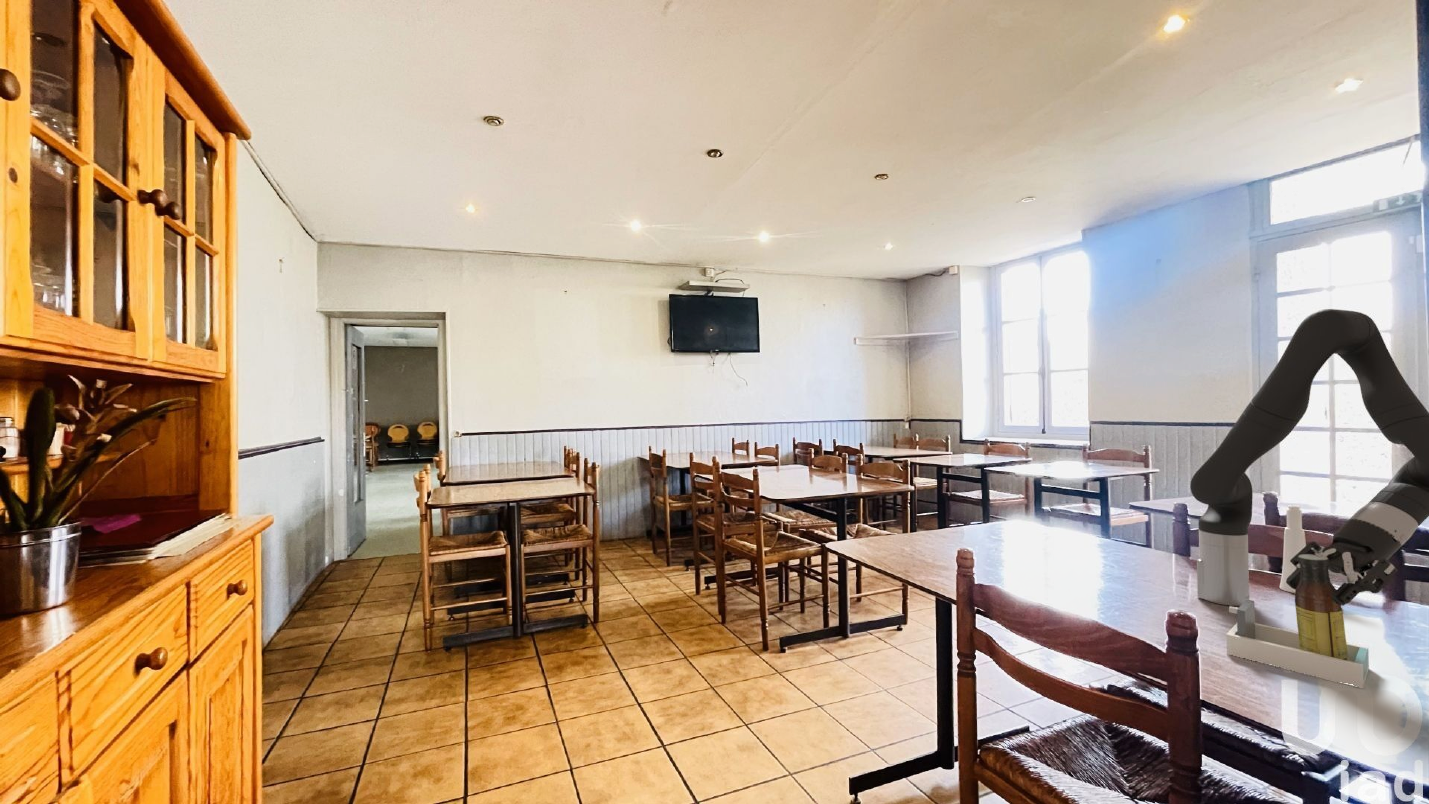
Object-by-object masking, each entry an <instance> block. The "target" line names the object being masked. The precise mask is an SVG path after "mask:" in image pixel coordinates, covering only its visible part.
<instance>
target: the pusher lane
mask: <svg viewBox="0 0 1429 804" xmlns="http://www.w3.org/2000/svg"><path fill="white" fill-rule="evenodd" d="M1225 638H1226V655H1228V656H1231V655H1233V657H1235V656H1237V657H1236V658H1239V657H1240V659H1243V658H1247V659H1250V660H1249V661H1251V660H1252V662H1255V661H1259V662H1262V663H1261V664H1263V663H1265V664H1264V665H1267V664H1272V665H1275V666H1276V668H1279V667H1281V668H1280V669H1282V668H1284V669H1283V670H1286V669H1287V670H1286V671H1290V670H1292V672H1294V671H1295V672H1294V673H1298V674H1302V673H1305V674H1304V675H1306V674H1308V675H1307V676H1310V675H1312V676H1311V677H1314V676H1316V677H1315V678H1318V677H1319V678H1318V679H1322V678H1323V679H1322V680H1326V681H1330V682H1334V683H1337V682H1342V683H1348V684H1353V685H1354V686H1357V687H1360V688H1359V689H1361V688H1362V690H1363V689H1364V685H1365V684H1366V680H1367V677H1366V676H1368V672H1369V670H1370V664H1369V663H1370V662H1369V661H1370V660H1369V659H1370V657H1369V655H1370V654H1369V652H1370V650H1369V647H1368V646H1365V645H1360V644H1354V643H1350V642H1346V644H1347V653H1348V657H1347V661H1346V660H1342V659H1338V658H1333V657H1329V656H1325V655H1320V654H1316V653H1312V652H1307V651H1303V650H1300V645H1299V635H1298V631H1294V630H1289V629H1284V628H1279V627H1276V626H1271V625H1266V624H1261V623H1257V622H1255V639H1251V638H1247V637H1243V636H1238V635H1237V622H1236V623H1235V624H1234V626H1232V628H1231V629H1230V630H1229V631H1228V632H1227V633H1226V637H1225ZM1247 659H1246V660H1247ZM1259 662H1258V663H1259ZM1275 666H1274V667H1275ZM1357 687H1356V688H1357Z"/></svg>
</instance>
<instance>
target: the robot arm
mask: <svg viewBox="0 0 1429 804" xmlns="http://www.w3.org/2000/svg"><path fill="white" fill-rule="evenodd" d="M1334 354H1335V355H1338V356H1339V357H1340V358H1341V359H1342V360H1343V361H1344V362H1346V364H1347V365H1348V366H1349V367H1350V368H1351V370H1352V371H1353V373H1354V374H1355V377H1356V379H1357V381H1358V384H1359V388H1360V395H1361V398H1362V402H1363V405H1364V407H1365V409H1366V411H1367V413H1368V415H1369V416H1370V418H1371V419H1372V421H1373V422H1374V424H1375V425H1376V426H1377V427H1378V429H1379V430H1380V432H1381V433H1382V435H1383V436H1384V438H1386V439H1387V440H1388V441H1389V442H1390V443H1393V444H1395V445H1403V446H1404V447H1405V448H1406V449H1407V450H1408V451H1410V453H1411V454H1412V455H1413V457H1412V458H1410V459H1409V460H1408V461H1406V462H1405V463H1404V465H1402V466H1401V467H1400V468H1399V470H1398V471H1397V472H1396V473H1395V474H1394V475H1393V477H1392V478H1391V480H1390V481H1389V482H1388V484H1387V485H1386V486H1384V487H1383V488H1382V489H1381V490H1380V491H1378V492H1377V493H1376V495H1374V496H1373V498H1372V499H1370V501H1368V503H1366V504H1364V505H1363V506H1362V507H1361V508H1359V509H1358V510H1357V511H1355V513H1354V514H1353V515H1352V516H1351V517H1350V518H1349V519H1348V520H1347V521H1346V522H1345V523H1343V525H1342V526H1341V527H1339V529H1338V530H1337V531H1336V532H1335V533H1334V534H1333V535H1332V543H1330V544H1329V545H1327V546H1323V545H1319V544H1318V543H1317V542H1316V541H1310V542H1309V543H1308V544H1306V546H1305V547H1304V548H1303V549H1302V550H1301V551H1300V552H1299V553H1298V554H1296V555H1295V556H1294V557H1293V558H1292V559H1291V560H1290V562H1291V563H1292V564H1293V565H1294V566H1295V567H1296V570H1295V571H1294V572H1293V573H1292V574H1291V575H1290V576H1289V577H1288V578H1287V580H1286V583H1287V584H1288V585H1289V586H1290V587H1291V588H1292V589H1295V590H1296V588H1297V586H1298V584H1299V582H1300V580H1301V569H1300V564H1299V562H1298V556H1299V555H1303V554H1311V555H1319V556H1324V557H1327V558H1328V559H1329V564H1330V565H1329V566H1328V572H1329V573H1334V574H1341V575H1343V576H1345V577H1346V580H1347V581H1346V582H1343V583H1342V584H1341V585H1340V586H1339V587H1338V588H1336V591H1335V592H1334V593H1333V594H1332V595H1331V599H1332V600H1333V601H1335V602H1336V603H1337V604H1339V605H1341V607H1343V606H1345V605H1347V604H1349V603H1350V602H1351V601H1352V600H1353V599H1355V598H1356V596H1357V595H1359V594H1360V593H1365V592H1370V593H1372V594H1379V593H1380V592H1381V590H1382V589H1383V588H1384V587H1385V586H1386V585H1387V584H1388V583H1389V581H1391V579H1392V578H1393V577H1394V576H1395V574H1396V573H1397V572H1398V569H1397V568H1396V567H1395V566H1394V565H1393V564H1392V562H1390V561H1389V559H1390V558H1391V557H1392V556H1393V555H1394V554H1395V553H1396V552H1397V551H1398V550H1399V549H1400V548H1401V547H1402V546H1403V545H1404V544H1405V543H1407V541H1409V539H1410V538H1411V537H1412V536H1413V534H1414V533H1415V532H1416V531H1417V528H1419V526H1420V525H1421V524H1423V523H1424V522H1425V520H1426V519H1428V517H1429V411H1428V410H1427V408H1426V407H1425V406H1424V404H1423V403H1422V401H1420V399H1419V398H1418V397H1417V395H1416V394H1415V393H1414V391H1413V390H1412V389H1411V387H1410V385H1408V383H1407V381H1406V379H1404V377H1403V375H1402V373H1401V372H1400V370H1399V368H1398V367H1397V365H1396V362H1395V361H1394V358H1393V357H1392V355H1391V354H1390V352H1389V349H1388V348H1387V345H1386V342H1385V341H1384V339H1383V336H1382V334H1381V332H1380V330H1379V327H1378V325H1377V324H1376V322H1375V321H1374V320H1373V318H1371V317H1370V316H1369V315H1367V314H1365V313H1363V312H1359V311H1354V310H1345V309H1336V308H1335V309H1334V308H1327V309H1326V308H1325V309H1321V310H1320V309H1319V310H1317V311H1314V312H1312V313H1311V314H1309V315H1308V316H1306V317H1305V318H1304V319H1303V321H1301V322H1300V324H1299V325H1298V327H1297V328H1296V330H1295V332H1294V334H1293V335H1292V337H1291V339H1290V341H1289V342H1288V345H1287V346H1286V348H1285V350H1284V352H1283V354H1282V355H1281V357H1280V360H1279V361H1278V362H1277V364H1276V366H1275V367H1274V368H1273V370H1272V371H1271V372H1270V374H1269V375H1268V377H1267V378H1266V380H1264V383H1263V384H1262V386H1261V387H1260V389H1259V390H1258V391H1257V392H1256V394H1255V395H1254V396H1253V397H1252V399H1251V400H1250V401H1249V403H1248V405H1246V407H1245V408H1244V410H1243V411H1242V413H1241V415H1240V416H1239V417H1238V419H1237V420H1236V422H1235V424H1234V425H1233V426H1232V427H1231V429H1230V430H1229V432H1228V433H1227V435H1226V436H1225V437H1224V439H1223V440H1222V442H1221V443H1220V445H1219V446H1218V447H1217V449H1216V450H1215V451H1214V452H1213V453H1212V455H1210V456H1209V458H1207V460H1206V461H1205V462H1204V463H1203V464H1202V465H1201V467H1199V469H1198V470H1197V471H1196V472H1195V473H1194V475H1193V476H1192V478H1191V481H1190V483H1189V484H1190V487H1189V488H1190V492H1191V494H1192V496H1193V498H1194V499H1195V500H1196V501H1198V503H1201V504H1204V505H1207V509H1206V511H1205V512H1204V513H1203V515H1202V516H1200V517H1199V519H1198V525H1197V526H1198V551H1199V552H1198V553H1199V557H1198V559H1197V560H1196V577H1197V579H1196V580H1197V581H1196V585H1197V586H1196V587H1197V598H1198V599H1203V600H1205V601H1207V602H1211V603H1214V604H1219V605H1225V606H1231V607H1240V606H1241V605H1242V604H1243V603H1244V602H1245V601H1246V599H1247V600H1250V574H1249V571H1250V570H1249V567H1250V566H1249V537H1248V536H1249V535H1248V533H1249V532H1248V529H1249V526H1250V524H1251V522H1252V517H1253V486H1252V482H1251V479H1250V478H1249V476H1248V475H1247V474H1246V472H1247V470H1248V469H1249V468H1250V467H1251V465H1253V464H1254V463H1255V462H1256V461H1257V460H1258V459H1260V458H1261V457H1262V456H1264V455H1266V454H1267V453H1268V452H1270V451H1271V450H1272V449H1273V448H1275V447H1276V446H1278V445H1279V444H1281V442H1283V440H1285V439H1286V438H1287V437H1288V436H1289V435H1290V434H1291V433H1292V432H1293V430H1294V429H1295V427H1296V426H1297V425H1298V424H1299V423H1300V421H1301V420H1302V418H1303V417H1305V416H1304V415H1305V414H1306V412H1307V410H1308V407H1309V403H1310V402H1309V401H1310V398H1311V390H1312V384H1313V382H1314V379H1315V377H1316V376H1317V374H1318V373H1319V371H1320V370H1321V369H1322V367H1323V366H1324V365H1325V364H1326V362H1327V361H1328V360H1329V359H1330V358H1331V357H1332V356H1333V355H1334ZM1373 582H1374V583H1373Z"/></svg>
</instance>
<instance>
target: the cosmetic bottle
mask: <svg viewBox="0 0 1429 804" xmlns="http://www.w3.org/2000/svg"><path fill="white" fill-rule="evenodd" d="M1302 516H1303V514H1302V510H1301V507H1300V506H1299V505H1293V504H1291V505H1290V504H1289V505H1287V509H1286V527H1284V532H1283V556H1282V568H1281V569H1282V571H1281V577H1280V583H1279V589H1281V590H1282V591H1284V592H1288V593H1293V594H1295V591H1296V590H1295V589H1292V588H1291V587H1290V586H1289V585H1288V584H1287V583H1286V580H1287V578H1288V577H1289V576H1290V575H1291V574H1292V573H1293V572H1294V571H1295V570H1296V567H1295V566H1294V565H1293V564H1292V563H1291V562H1290V560H1291V559H1292V558H1293V557H1294V556H1295V555H1296V554H1298V553H1299V552H1300V551H1301V550H1302V549H1303V548H1304V547H1305V546H1307V544H1306V543H1307V542H1306V533H1305V529H1303V518H1302Z"/></svg>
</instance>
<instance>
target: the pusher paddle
mask: <svg viewBox="0 0 1429 804" xmlns="http://www.w3.org/2000/svg"><path fill="white" fill-rule="evenodd" d="M1228 606H1229V608H1228V612H1229V613H1232V614H1236V623H1237V635H1238V636H1243V637H1247V638H1251V639H1255V623H1256V616H1255V615H1256V614H1255V601H1254V600H1251V599H1249V600H1247V599H1246V601H1245V602H1244V603H1243V604H1242V605H1241V606H1238V607H1237V606H1230V605H1228Z"/></svg>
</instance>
